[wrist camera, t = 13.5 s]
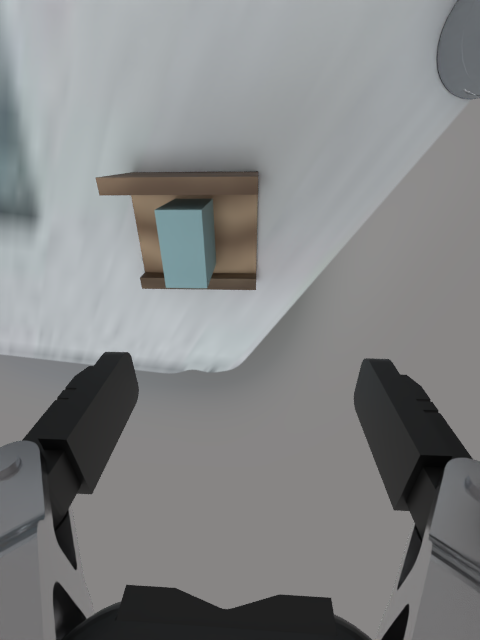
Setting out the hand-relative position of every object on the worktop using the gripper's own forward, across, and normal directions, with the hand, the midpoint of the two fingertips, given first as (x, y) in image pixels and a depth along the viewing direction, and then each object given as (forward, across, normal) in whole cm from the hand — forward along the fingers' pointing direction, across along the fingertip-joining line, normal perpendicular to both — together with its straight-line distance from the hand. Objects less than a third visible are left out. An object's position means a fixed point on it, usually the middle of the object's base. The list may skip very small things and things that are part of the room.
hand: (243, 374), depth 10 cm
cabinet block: (+29, +7, +2) cm, 29 cm away
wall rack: (+30, +7, +1) cm, 31 cm away
